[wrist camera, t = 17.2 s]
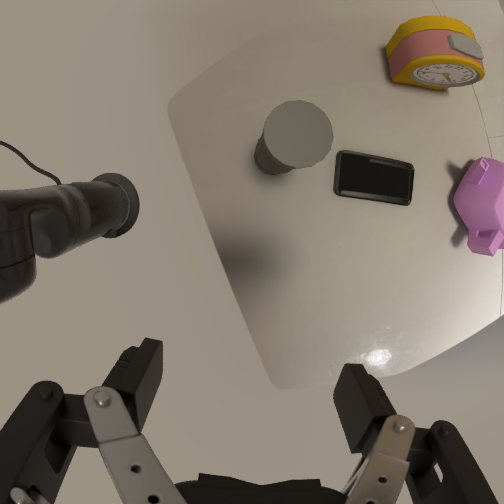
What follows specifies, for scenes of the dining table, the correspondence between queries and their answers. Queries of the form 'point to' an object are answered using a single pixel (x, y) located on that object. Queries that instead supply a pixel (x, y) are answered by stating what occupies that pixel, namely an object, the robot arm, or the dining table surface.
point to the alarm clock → (435, 53)
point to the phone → (373, 178)
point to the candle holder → (293, 138)
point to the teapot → (483, 205)
